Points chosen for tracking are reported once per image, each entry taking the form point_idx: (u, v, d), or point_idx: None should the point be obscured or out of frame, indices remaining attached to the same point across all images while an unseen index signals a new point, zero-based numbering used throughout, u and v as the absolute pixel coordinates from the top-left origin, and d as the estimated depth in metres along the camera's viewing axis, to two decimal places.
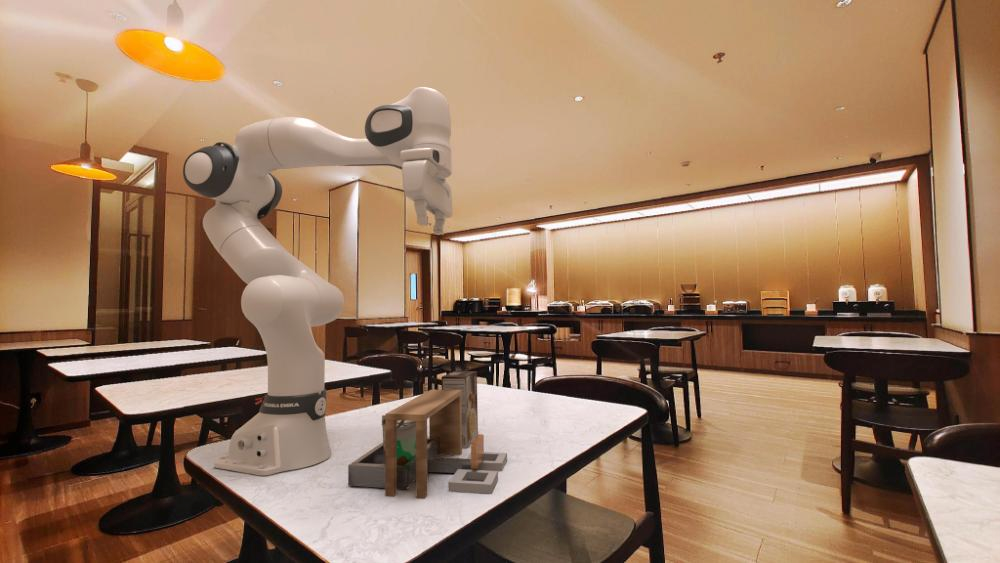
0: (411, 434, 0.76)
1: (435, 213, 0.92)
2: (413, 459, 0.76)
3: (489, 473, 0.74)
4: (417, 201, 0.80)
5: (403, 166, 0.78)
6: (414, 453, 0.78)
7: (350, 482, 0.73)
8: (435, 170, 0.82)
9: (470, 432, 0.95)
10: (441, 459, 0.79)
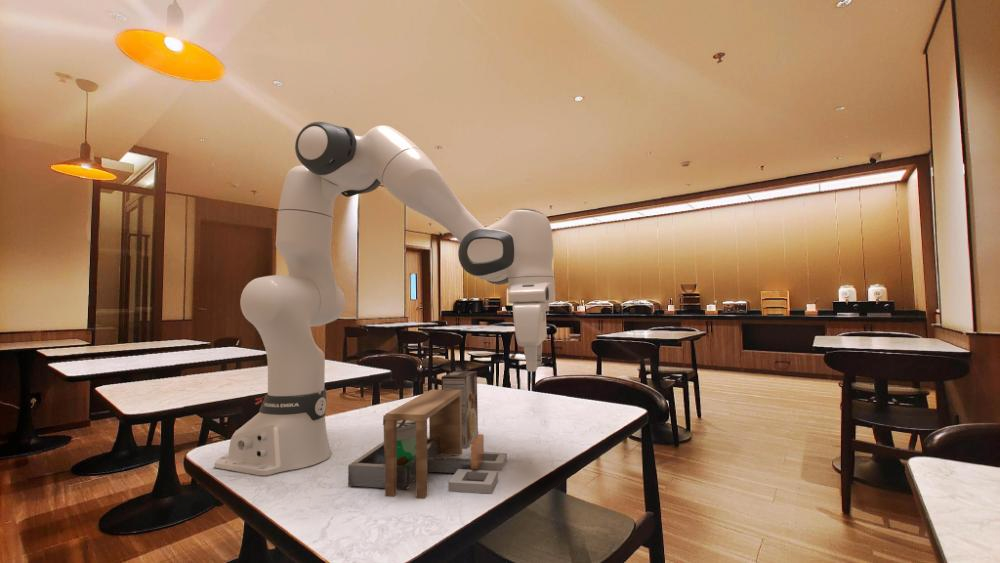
0: (412, 434, 0.76)
1: None
2: (413, 459, 0.76)
3: (489, 473, 0.74)
4: (527, 347, 0.71)
5: (514, 311, 0.69)
6: (415, 454, 0.78)
7: (350, 482, 0.73)
8: (544, 308, 0.73)
9: (470, 432, 0.95)
10: (441, 459, 0.79)
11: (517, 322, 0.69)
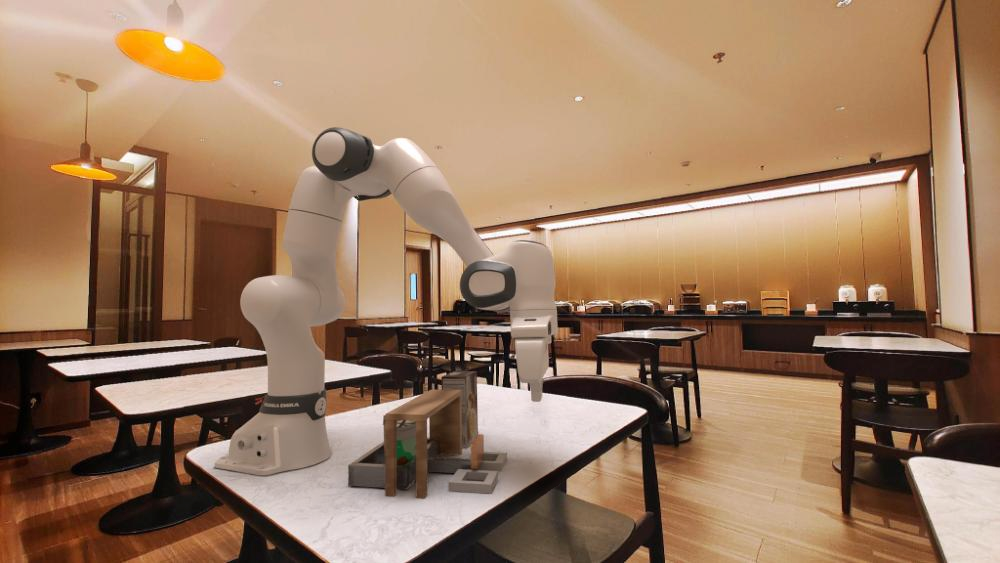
0: (412, 434, 0.76)
1: None
2: (413, 459, 0.76)
3: (489, 473, 0.74)
4: None
5: (517, 348, 0.69)
6: (415, 454, 0.78)
7: (350, 482, 0.73)
8: (546, 342, 0.73)
9: (470, 432, 0.95)
10: (441, 459, 0.79)
11: (519, 359, 0.68)
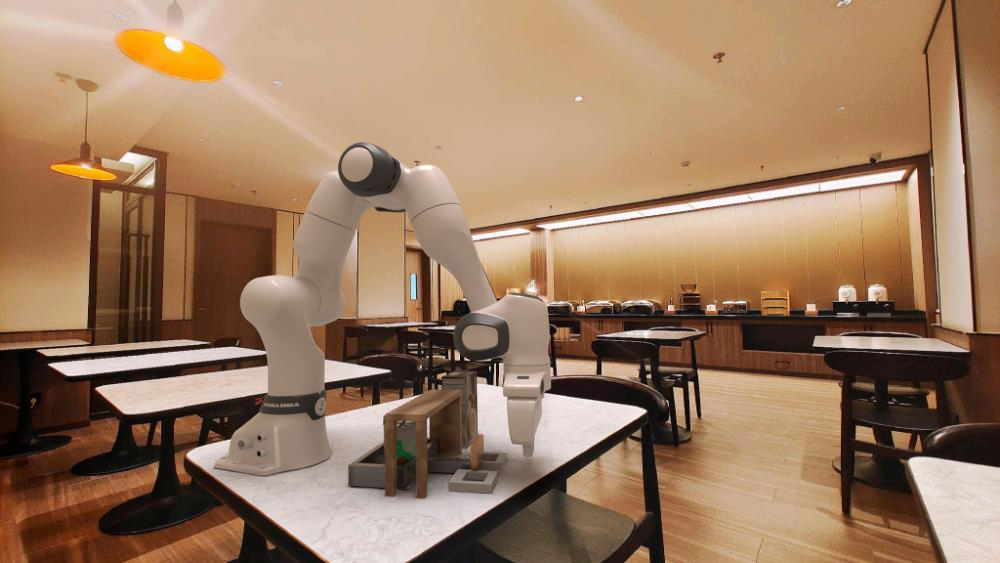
0: (412, 434, 0.76)
1: None
2: (413, 459, 0.76)
3: (489, 473, 0.74)
4: None
5: (508, 408, 0.68)
6: (415, 454, 0.78)
7: (350, 482, 0.73)
8: (539, 399, 0.72)
9: (470, 432, 0.95)
10: (441, 459, 0.79)
11: (511, 420, 0.68)
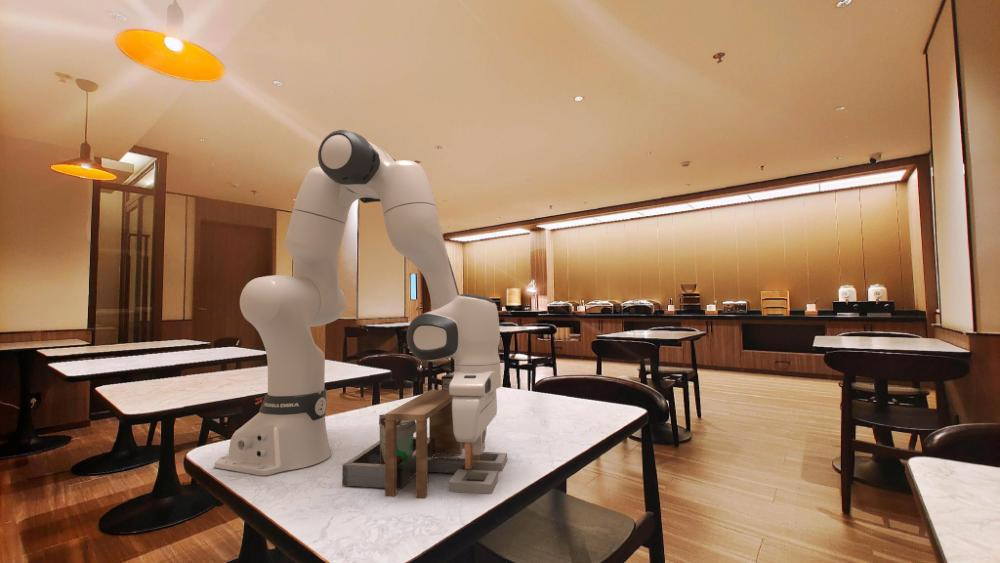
0: (407, 434, 0.76)
1: None
2: (407, 459, 0.76)
3: (489, 473, 0.74)
4: None
5: (453, 407, 0.70)
6: (410, 453, 0.78)
7: (344, 482, 0.73)
8: (486, 398, 0.74)
9: None
10: (435, 459, 0.79)
11: (455, 418, 0.69)
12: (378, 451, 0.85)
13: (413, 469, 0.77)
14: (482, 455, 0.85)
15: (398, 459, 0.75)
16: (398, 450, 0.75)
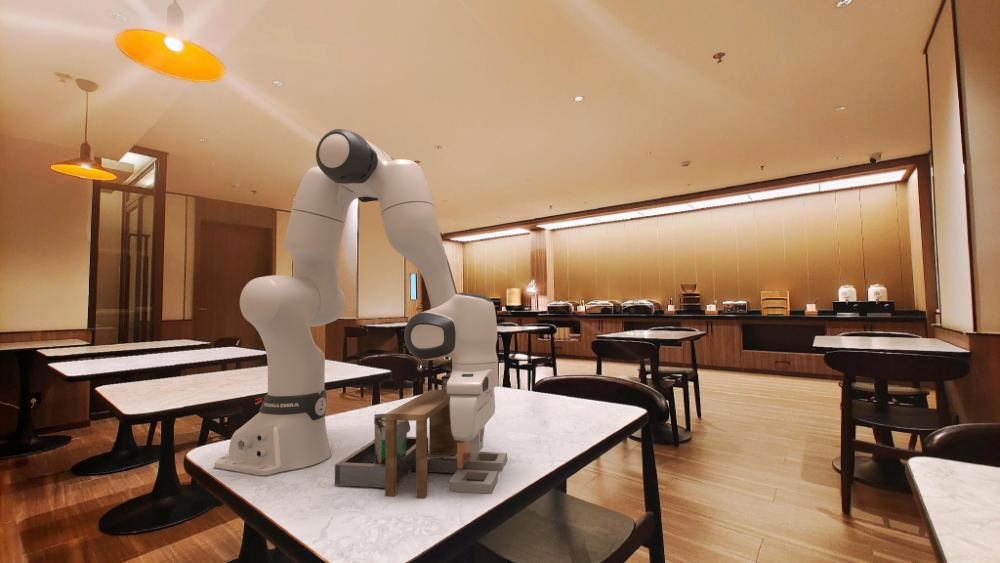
0: (399, 434, 0.76)
1: None
2: (400, 458, 0.76)
3: (489, 473, 0.74)
4: None
5: (451, 405, 0.70)
6: (402, 453, 0.78)
7: (337, 481, 0.73)
8: (484, 396, 0.74)
9: None
10: (428, 458, 0.79)
11: (453, 416, 0.69)
12: (371, 451, 0.85)
13: (406, 469, 0.77)
14: (482, 455, 0.85)
15: None
16: None
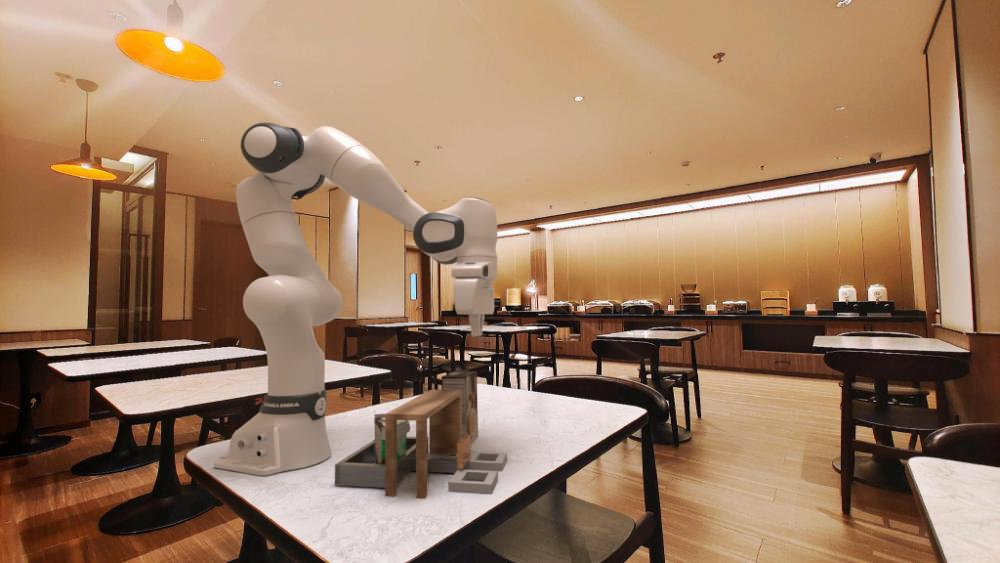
0: (399, 434, 0.76)
1: None
2: (400, 458, 0.76)
3: (489, 473, 0.74)
4: (472, 315, 0.87)
5: (455, 284, 0.81)
6: (402, 453, 0.78)
7: (337, 481, 0.73)
8: (483, 283, 0.85)
9: (470, 432, 0.95)
10: (428, 458, 0.79)
11: (456, 293, 0.80)
12: (371, 451, 0.85)
13: (406, 469, 0.77)
14: (482, 455, 0.85)
15: None
16: None
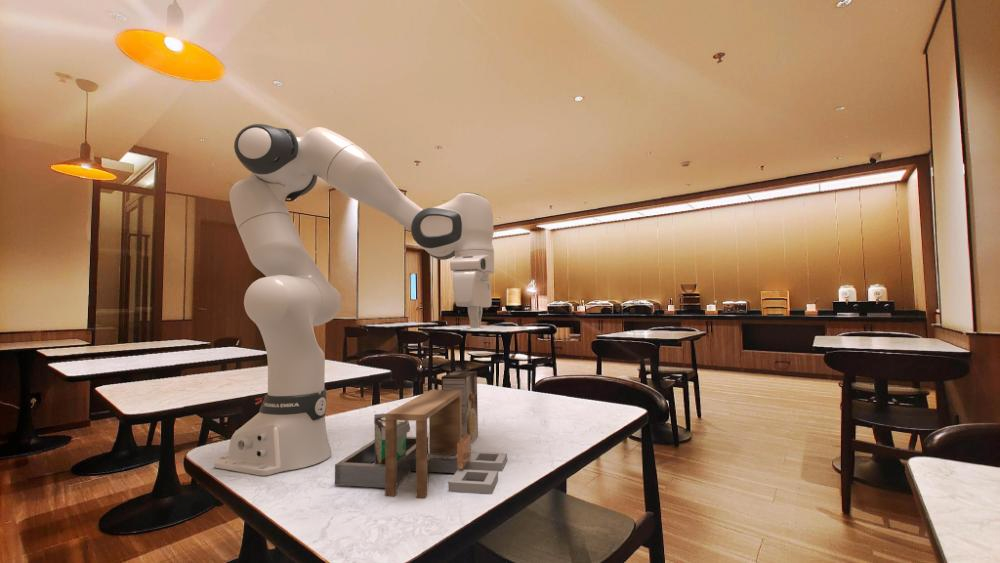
0: (399, 434, 0.76)
1: None
2: (400, 458, 0.76)
3: (489, 473, 0.74)
4: (470, 308, 0.89)
5: (454, 277, 0.83)
6: (402, 453, 0.78)
7: (337, 481, 0.73)
8: (481, 276, 0.87)
9: (470, 432, 0.95)
10: (428, 458, 0.79)
11: (455, 286, 0.83)
12: (371, 451, 0.85)
13: (406, 469, 0.77)
14: (482, 455, 0.85)
15: None
16: None
